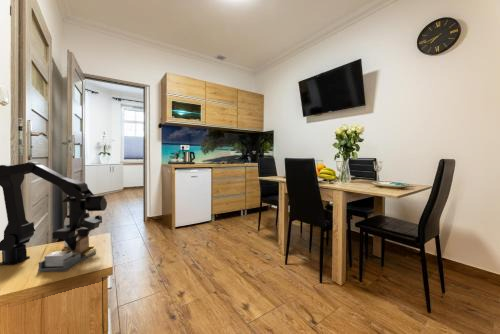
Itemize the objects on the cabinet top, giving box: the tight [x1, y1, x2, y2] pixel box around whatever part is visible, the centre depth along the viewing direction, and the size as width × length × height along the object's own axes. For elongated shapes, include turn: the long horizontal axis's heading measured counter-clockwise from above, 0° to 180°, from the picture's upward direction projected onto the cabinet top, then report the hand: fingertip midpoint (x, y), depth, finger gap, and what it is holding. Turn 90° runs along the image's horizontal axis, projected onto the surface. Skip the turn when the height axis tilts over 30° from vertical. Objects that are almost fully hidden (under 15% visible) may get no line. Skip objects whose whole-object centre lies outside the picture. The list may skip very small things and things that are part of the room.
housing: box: [67, 235, 90, 253], centre depth 91 cm, size 5×5×5 cm
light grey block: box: [44, 250, 72, 267], centre depth 82 cm, size 7×5×4 cm
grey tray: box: [37, 245, 97, 273], centre depth 87 cm, size 10×16×4 cm, turn 2°
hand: (78, 247), depth 91 cm, fingers closed on housing, 5 cm apart
